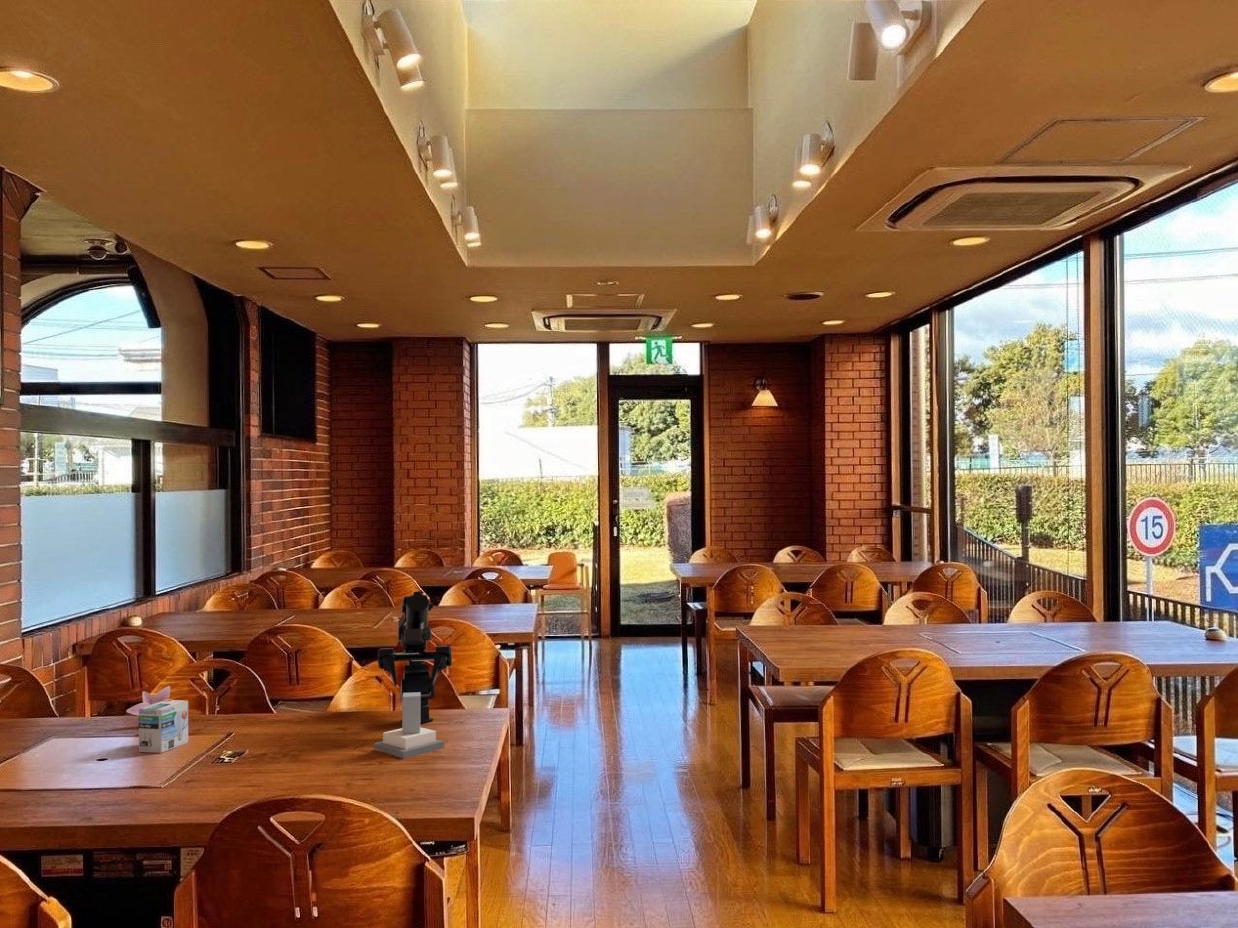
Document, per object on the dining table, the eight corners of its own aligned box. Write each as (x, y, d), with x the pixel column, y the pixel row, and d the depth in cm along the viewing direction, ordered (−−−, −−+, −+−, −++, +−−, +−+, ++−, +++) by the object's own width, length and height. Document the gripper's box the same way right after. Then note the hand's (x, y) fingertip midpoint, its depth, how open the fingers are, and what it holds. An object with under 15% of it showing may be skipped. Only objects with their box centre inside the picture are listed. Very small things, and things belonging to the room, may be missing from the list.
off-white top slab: (383, 742, 233) (383, 732, 233) (413, 735, 240) (413, 725, 240) (405, 748, 227) (405, 738, 227) (435, 741, 234) (435, 730, 234)
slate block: (402, 733, 231) (402, 696, 232) (402, 729, 236) (403, 692, 236) (419, 733, 232) (420, 695, 232) (420, 728, 236) (420, 692, 236)
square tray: (374, 753, 233) (374, 743, 233) (414, 743, 242) (414, 733, 242) (403, 762, 225) (403, 751, 225) (444, 751, 234) (444, 741, 234)
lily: (120, 732, 259) (121, 704, 255) (148, 706, 270) (149, 679, 266) (161, 746, 258) (163, 718, 254) (187, 719, 269) (189, 692, 265)
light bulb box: (161, 753, 233) (161, 709, 233) (137, 752, 235) (137, 708, 235) (189, 742, 244) (189, 699, 244) (166, 741, 245) (166, 698, 245)
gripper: (377, 617, 248) (373, 668, 236) (450, 614, 250) (449, 664, 239) (381, 643, 255) (377, 693, 244) (452, 640, 258) (451, 689, 247)
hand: (413, 684), depth 243 cm, fingers open, 9 cm apart
